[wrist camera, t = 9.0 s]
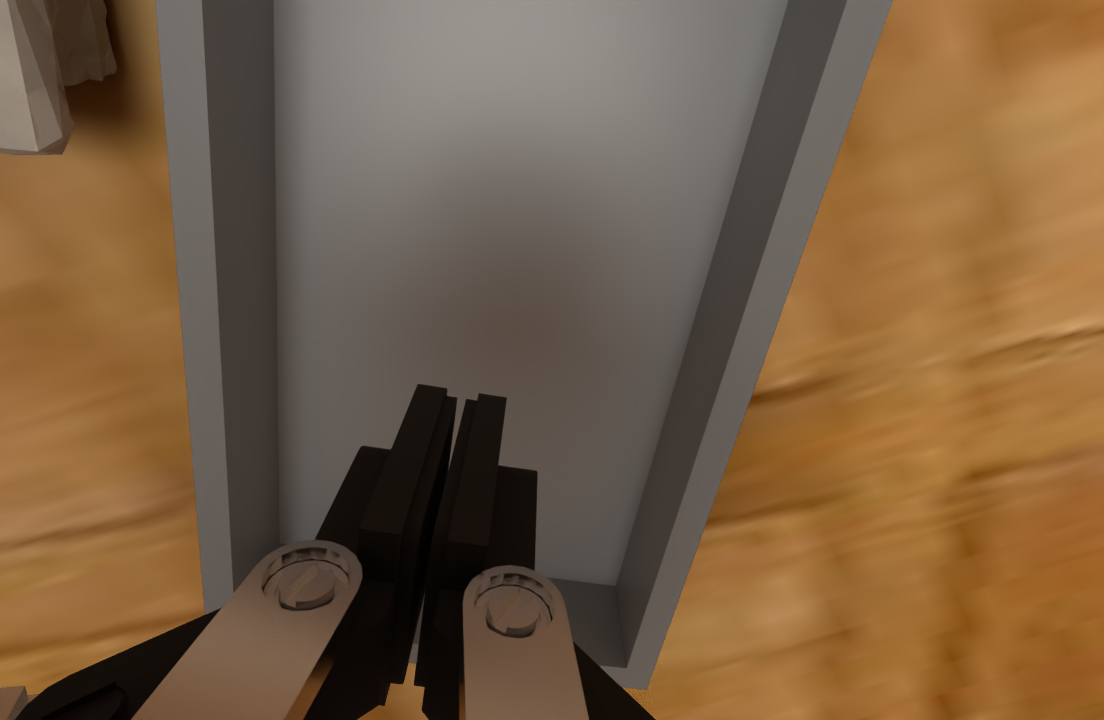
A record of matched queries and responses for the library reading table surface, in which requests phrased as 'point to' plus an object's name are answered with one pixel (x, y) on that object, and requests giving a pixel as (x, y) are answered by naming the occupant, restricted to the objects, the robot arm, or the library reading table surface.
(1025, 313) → the library reading table surface
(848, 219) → the library reading table surface
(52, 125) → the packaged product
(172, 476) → the library reading table surface
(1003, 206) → the library reading table surface
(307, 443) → the tote
